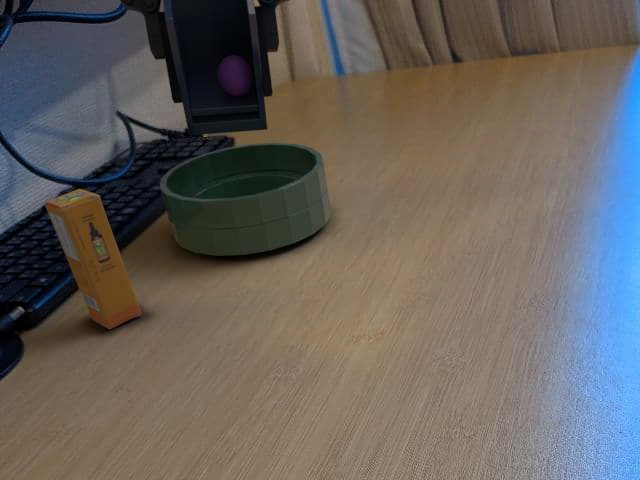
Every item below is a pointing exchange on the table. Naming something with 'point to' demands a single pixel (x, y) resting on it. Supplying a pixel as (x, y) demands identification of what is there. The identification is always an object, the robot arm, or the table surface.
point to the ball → (235, 75)
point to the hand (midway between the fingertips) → (223, 97)
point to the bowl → (246, 198)
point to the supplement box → (93, 257)
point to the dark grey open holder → (215, 63)
